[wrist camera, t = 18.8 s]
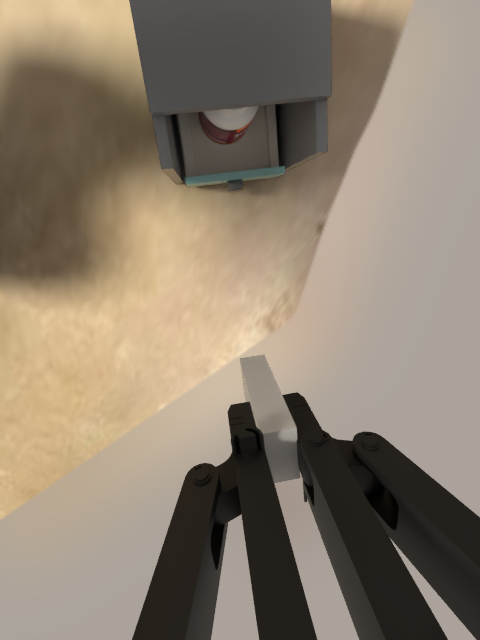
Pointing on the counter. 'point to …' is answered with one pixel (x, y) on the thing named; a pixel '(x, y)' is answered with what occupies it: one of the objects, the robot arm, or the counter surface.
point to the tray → (230, 152)
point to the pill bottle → (226, 124)
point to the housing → (237, 68)
